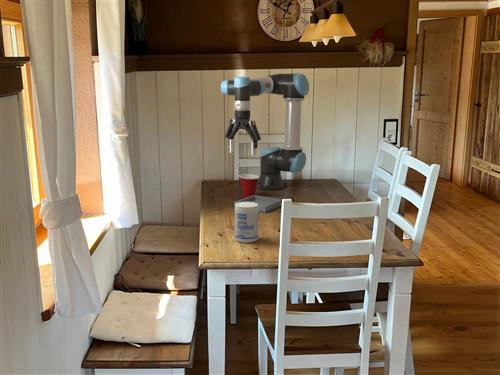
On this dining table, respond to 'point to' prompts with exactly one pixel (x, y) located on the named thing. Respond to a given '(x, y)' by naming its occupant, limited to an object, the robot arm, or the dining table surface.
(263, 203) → the tray
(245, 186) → the plastic cup
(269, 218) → the dining table surface
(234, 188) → the dining table surface
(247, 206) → the supplement tub
